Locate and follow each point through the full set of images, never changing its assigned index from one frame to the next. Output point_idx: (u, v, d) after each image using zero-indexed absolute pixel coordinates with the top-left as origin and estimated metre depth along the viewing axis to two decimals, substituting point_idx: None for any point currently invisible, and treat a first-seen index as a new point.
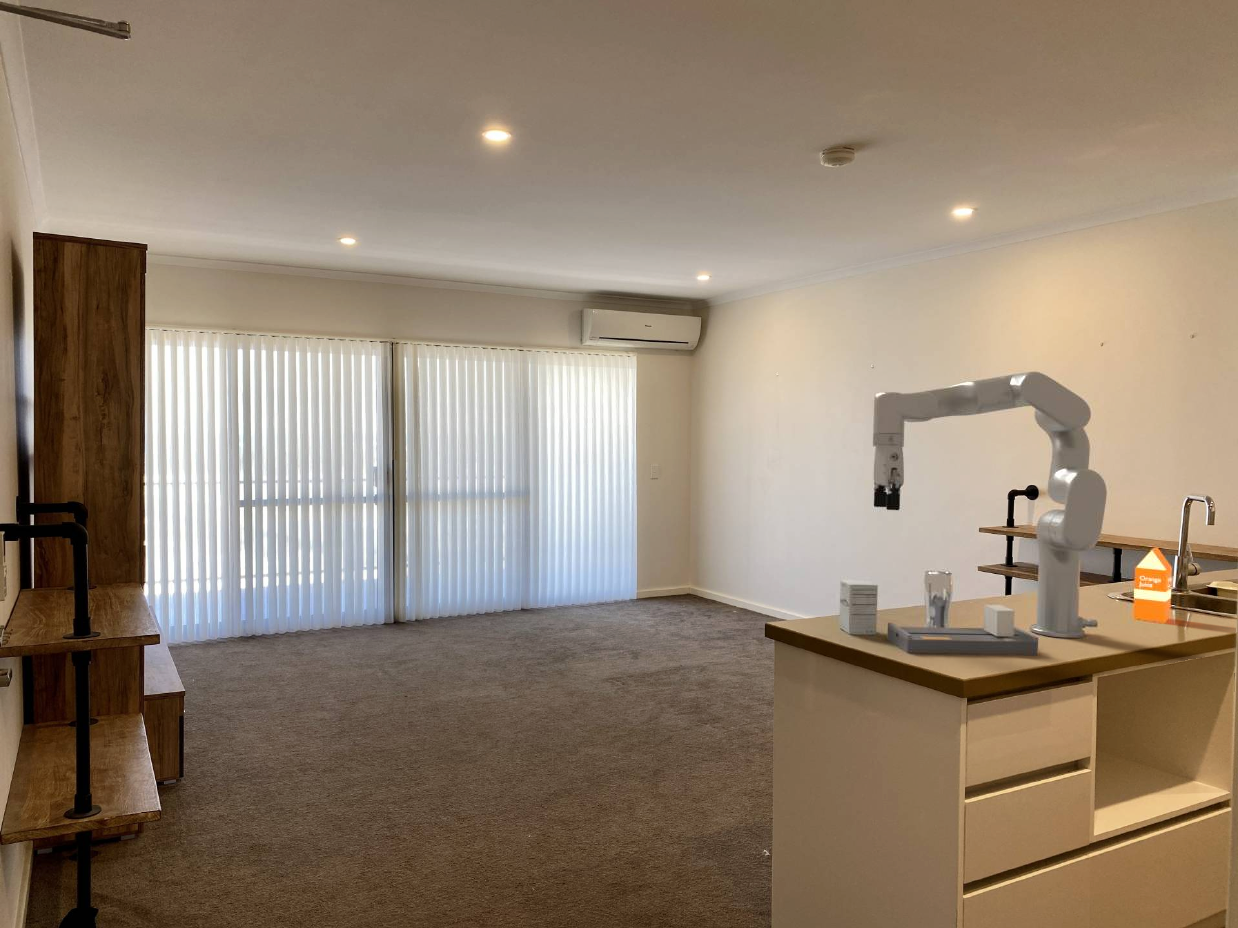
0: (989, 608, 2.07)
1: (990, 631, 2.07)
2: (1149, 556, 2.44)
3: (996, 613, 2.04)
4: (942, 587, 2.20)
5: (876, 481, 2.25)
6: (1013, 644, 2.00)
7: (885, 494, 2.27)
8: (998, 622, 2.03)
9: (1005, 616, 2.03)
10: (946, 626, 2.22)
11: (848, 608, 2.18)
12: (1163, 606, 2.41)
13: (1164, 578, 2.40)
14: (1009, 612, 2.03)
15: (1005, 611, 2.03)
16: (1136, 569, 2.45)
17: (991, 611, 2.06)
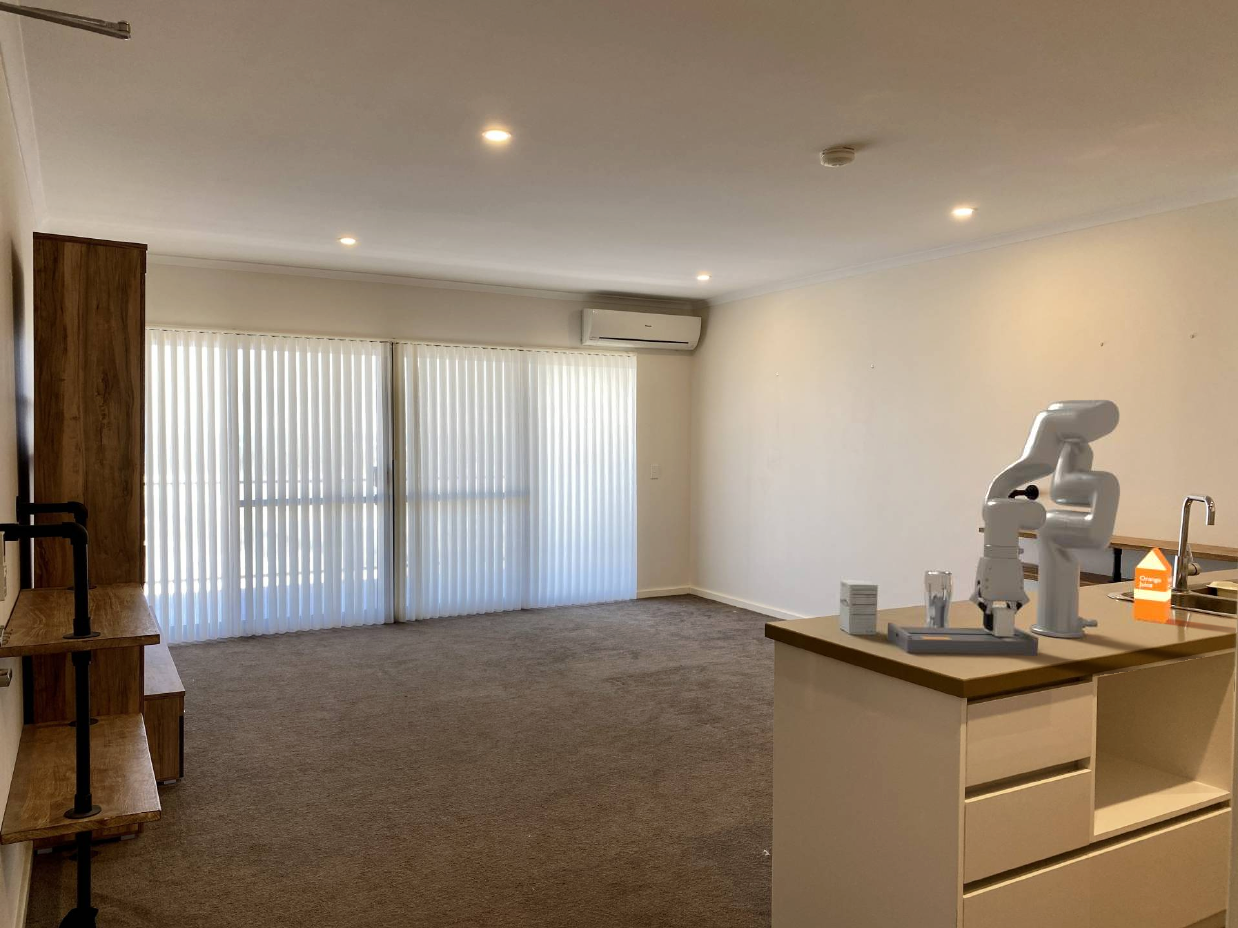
0: None
1: (990, 631, 2.07)
2: (1149, 556, 2.44)
3: (996, 613, 2.04)
4: (942, 587, 2.20)
5: (994, 598, 2.05)
6: (1013, 644, 2.00)
7: None
8: (998, 622, 2.03)
9: (1005, 616, 2.03)
10: (946, 626, 2.22)
11: (848, 608, 2.18)
12: (1163, 606, 2.41)
13: (1164, 578, 2.40)
14: (1009, 612, 2.03)
15: (1005, 611, 2.03)
16: (1136, 569, 2.45)
17: (991, 611, 2.06)
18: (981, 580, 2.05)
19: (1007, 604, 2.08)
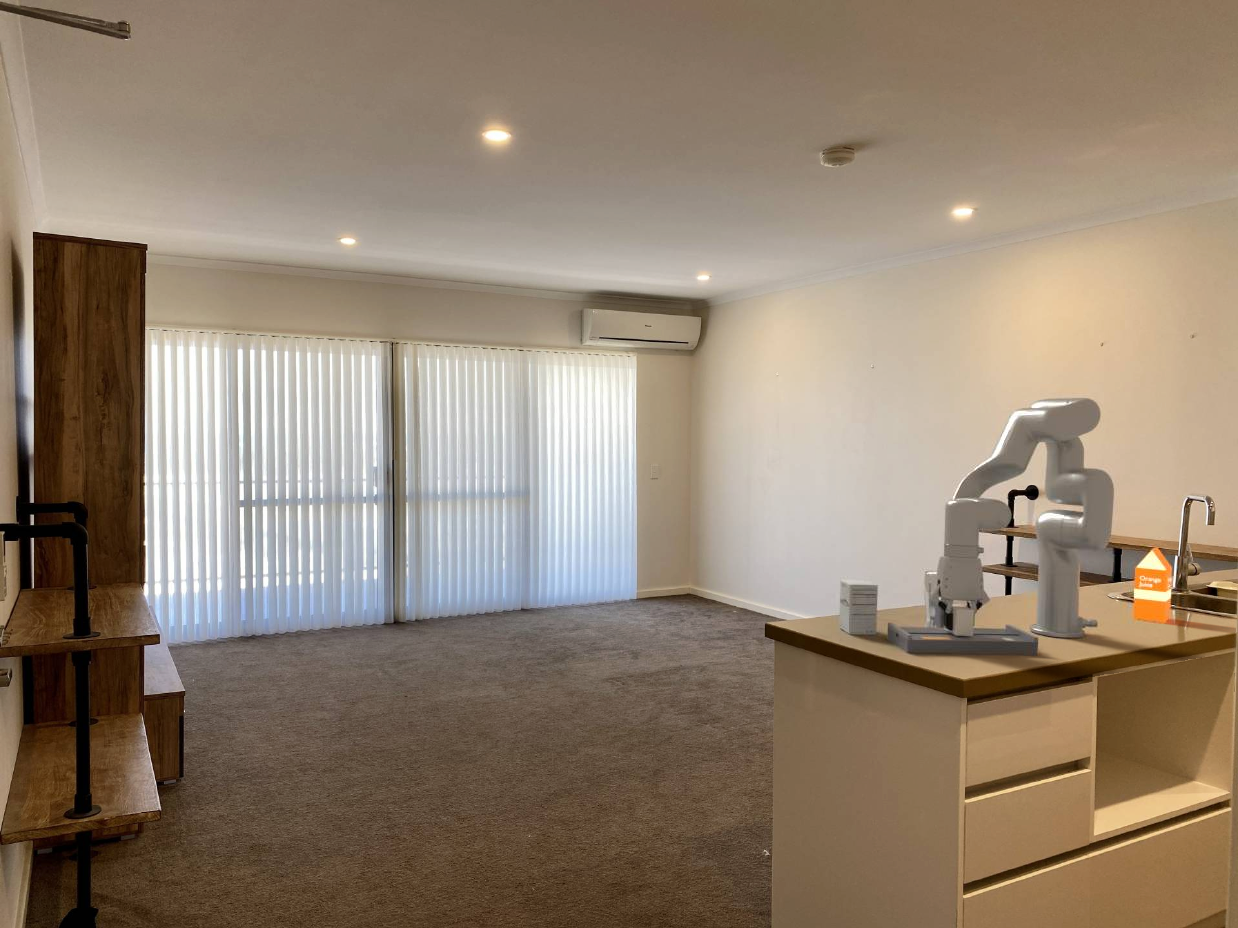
0: None
1: (950, 630, 2.06)
2: (1149, 556, 2.44)
3: (955, 612, 2.04)
4: None
5: (954, 597, 2.04)
6: (1013, 644, 2.00)
7: None
8: (958, 621, 2.03)
9: (964, 616, 2.03)
10: None
11: (848, 608, 2.18)
12: (1163, 606, 2.41)
13: (1164, 578, 2.40)
14: (968, 611, 2.03)
15: (964, 610, 2.03)
16: (1136, 569, 2.45)
17: (951, 610, 2.06)
18: (941, 579, 2.05)
19: (967, 603, 2.08)
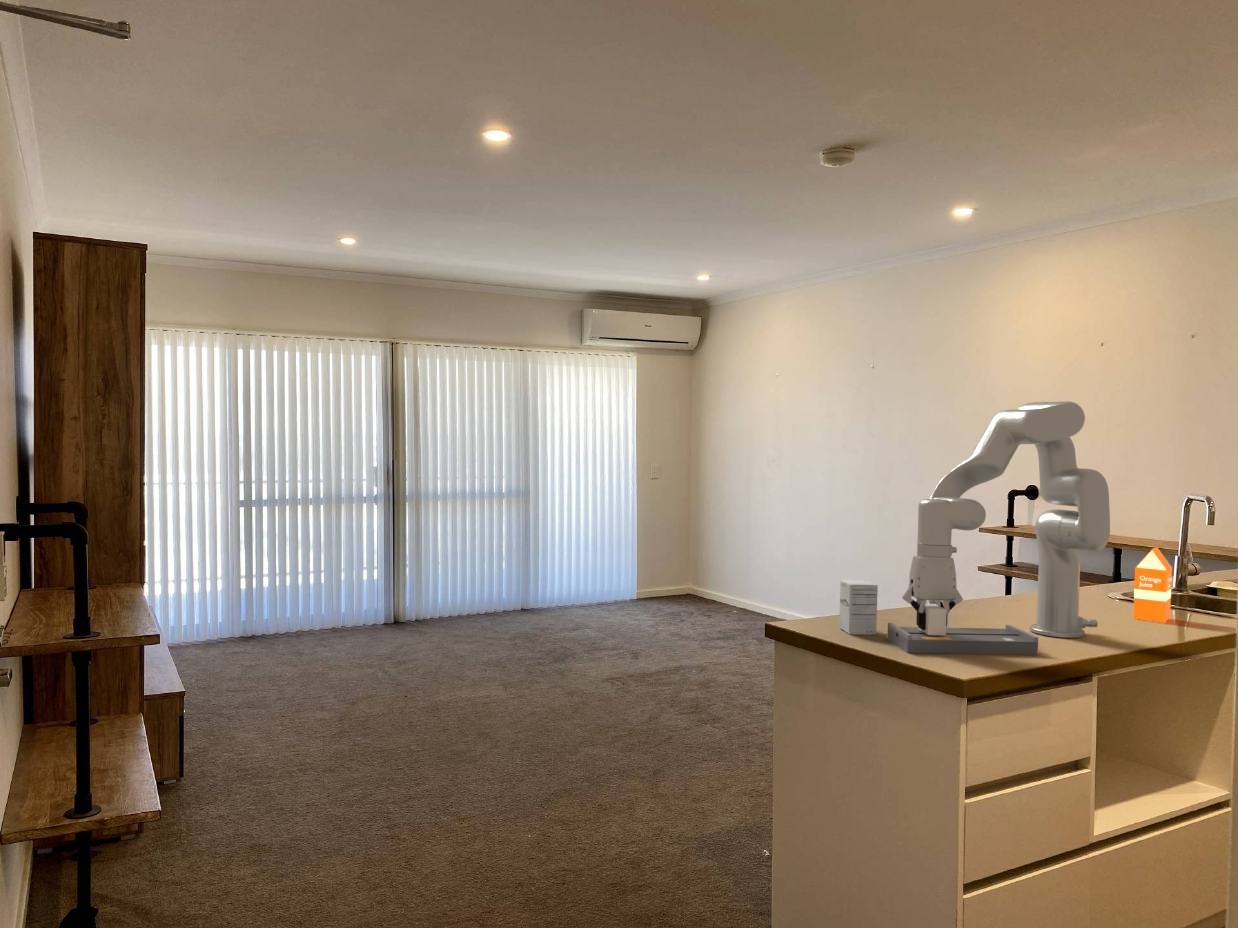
0: None
1: (923, 630, 2.06)
2: (1149, 556, 2.44)
3: (928, 612, 2.04)
4: None
5: (927, 596, 2.04)
6: (1013, 644, 2.00)
7: None
8: (930, 620, 2.03)
9: (937, 615, 2.03)
10: (946, 626, 2.22)
11: (848, 608, 2.18)
12: (1163, 606, 2.41)
13: (1164, 578, 2.40)
14: (941, 611, 2.03)
15: (937, 610, 2.03)
16: (1136, 569, 2.45)
17: (924, 609, 2.06)
18: (914, 579, 2.05)
19: (940, 603, 2.07)
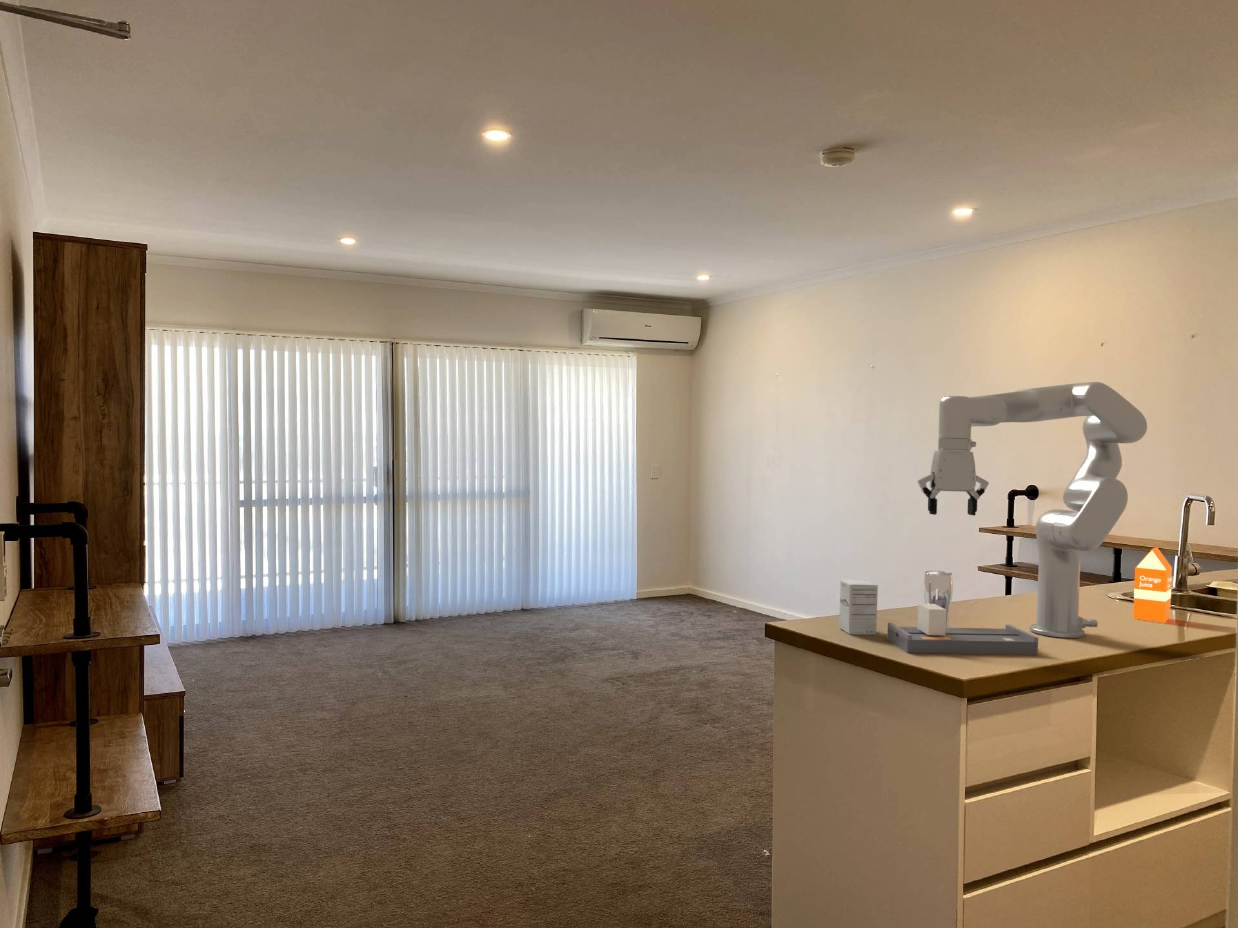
0: (922, 607, 2.07)
1: (923, 630, 2.06)
2: (1149, 556, 2.44)
3: (928, 612, 2.04)
4: (942, 587, 2.20)
5: (948, 487, 2.16)
6: (1013, 644, 2.00)
7: None
8: (930, 620, 2.03)
9: (937, 615, 2.03)
10: (946, 626, 2.22)
11: (848, 608, 2.18)
12: (1163, 606, 2.41)
13: (1164, 578, 2.40)
14: (941, 611, 2.03)
15: (937, 610, 2.03)
16: (1136, 569, 2.45)
17: (924, 609, 2.06)
18: (935, 471, 2.17)
19: (968, 492, 2.19)
